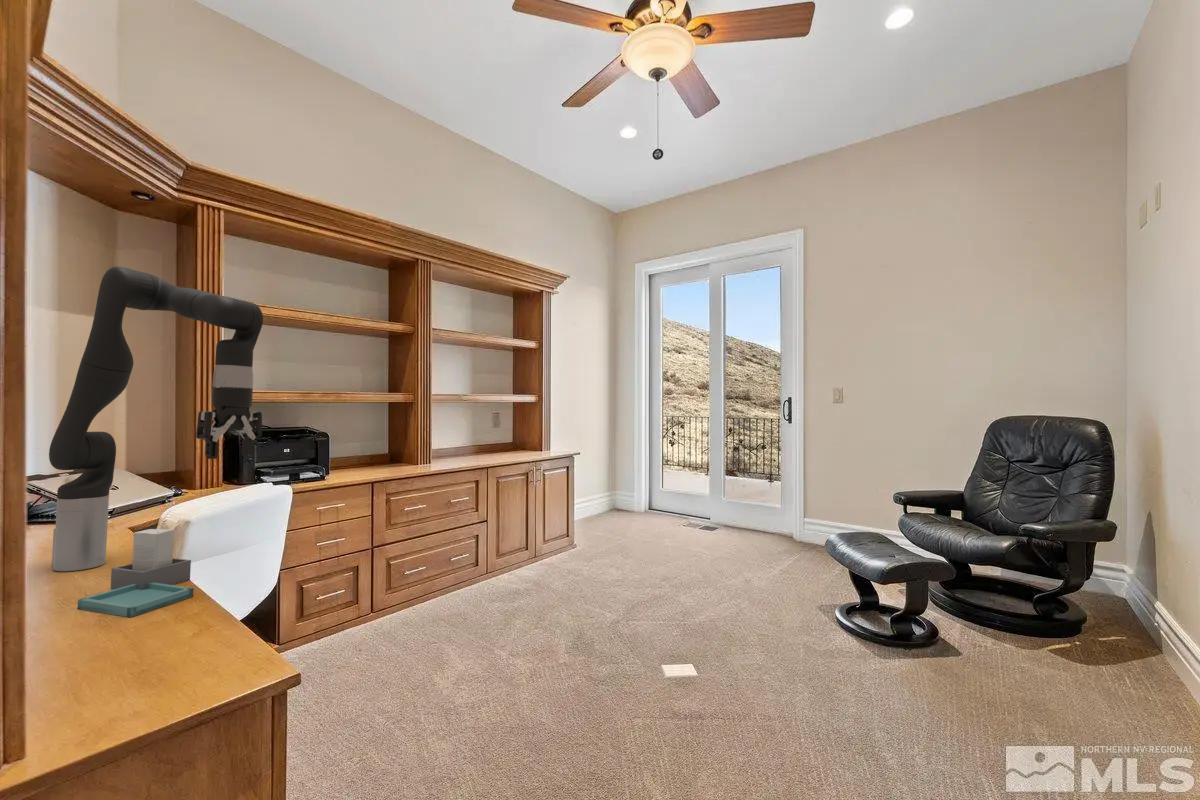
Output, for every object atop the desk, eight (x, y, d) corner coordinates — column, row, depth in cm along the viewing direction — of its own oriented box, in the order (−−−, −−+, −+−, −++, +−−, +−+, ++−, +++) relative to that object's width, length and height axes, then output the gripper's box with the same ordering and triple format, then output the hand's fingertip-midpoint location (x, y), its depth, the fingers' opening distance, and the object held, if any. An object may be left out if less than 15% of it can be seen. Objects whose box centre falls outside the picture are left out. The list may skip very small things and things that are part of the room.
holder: (110, 589, 114) (111, 568, 114) (159, 575, 124) (160, 556, 124) (142, 593, 112) (143, 572, 112) (190, 579, 122) (190, 560, 122)
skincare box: (172, 582, 120) (174, 529, 120) (154, 588, 116) (157, 533, 116) (148, 580, 121) (150, 528, 121) (129, 586, 116) (132, 532, 117)
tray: (77, 608, 103) (77, 599, 103) (143, 589, 115) (144, 581, 115) (130, 617, 100) (131, 607, 100) (193, 596, 111) (193, 588, 111)
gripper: (247, 387, 127) (244, 454, 127) (189, 384, 113) (185, 458, 113) (272, 388, 126) (269, 455, 125) (217, 384, 112) (213, 460, 111)
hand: (229, 457), depth 119 cm, fingers open, 8 cm apart
